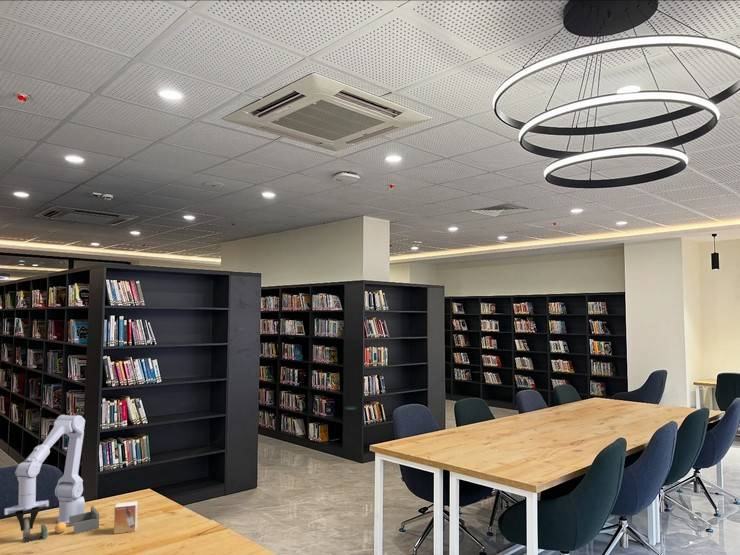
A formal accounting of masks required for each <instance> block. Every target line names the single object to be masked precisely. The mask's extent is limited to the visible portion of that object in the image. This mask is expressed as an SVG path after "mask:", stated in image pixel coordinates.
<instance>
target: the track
mask: <svg viewBox="0 0 740 555" xmlns="http://www.w3.org/2000/svg"><path fill="white" fill-rule="evenodd" d="M35 533H36V532H34V533H33V534H35ZM31 534H32V533H30V535H31ZM40 538H41V537H40V536H34V537H30V538H23V537H22V541H23V542H24V543H25V544H27V543H30V542H29V541H31V542H35V541H38V540H40ZM34 540H35V541H34ZM26 542H27V543H26Z"/></svg>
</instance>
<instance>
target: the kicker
mask: <svg viewBox="0 0 740 555" xmlns="http://www.w3.org/2000/svg"><path fill="white" fill-rule="evenodd" d="M30 518H31V516H25V517H23V531H22V539H23V538H30V537H34V536H40V538H43V539H47V538H48V528H47V526H46V524H41V525H40V529H41V530H40V532H34V533H35V534H34V533H31V529H30ZM30 534H31V535H30Z"/></svg>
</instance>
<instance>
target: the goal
mask: <svg viewBox="0 0 740 555" xmlns="http://www.w3.org/2000/svg"><path fill="white" fill-rule="evenodd" d="M68 524H69V525H68V526H69V528H71V527H73V535H77V533H78V534H80V532H82V533H85V532H84V531H86V532H89V531H88V530H91V531H93V530H92V529H95V530H98V529H97V528H99V529H100V513H99V511H98V510H97V509H96V508H95V506H94V505H91V506H90V511H86V512H85V513H82V514H77V515H73V516H69V523H68Z"/></svg>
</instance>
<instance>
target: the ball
mask: <svg viewBox="0 0 740 555" xmlns="http://www.w3.org/2000/svg"><path fill="white" fill-rule="evenodd" d="M66 529H67V523H66V524H65V523H63V522H60V523H58V522H57V523H56V524H55V526H54V531H55V533H57V534H61V533H64V532H65V531H66Z"/></svg>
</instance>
